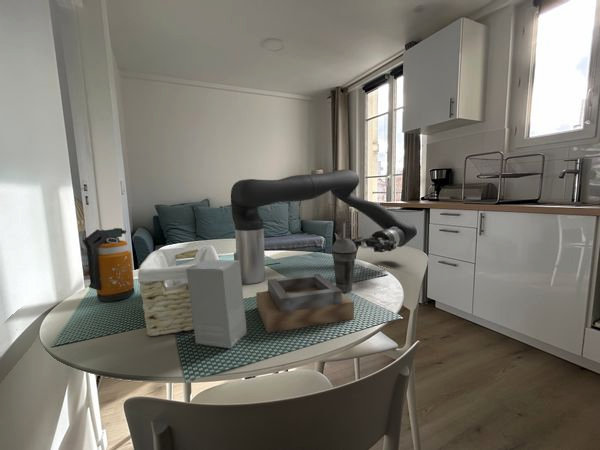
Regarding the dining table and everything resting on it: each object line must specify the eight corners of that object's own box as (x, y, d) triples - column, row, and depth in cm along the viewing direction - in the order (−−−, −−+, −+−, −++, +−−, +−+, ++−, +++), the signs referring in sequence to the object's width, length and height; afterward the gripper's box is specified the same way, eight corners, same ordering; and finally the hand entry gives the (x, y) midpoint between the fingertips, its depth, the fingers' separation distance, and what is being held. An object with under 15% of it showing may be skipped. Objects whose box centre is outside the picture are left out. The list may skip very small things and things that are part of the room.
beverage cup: (355, 285, 88) (355, 221, 86) (357, 294, 81) (358, 223, 78) (331, 285, 89) (331, 221, 86) (331, 293, 81) (331, 224, 79)
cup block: (267, 333, 59) (266, 300, 59) (256, 307, 73) (255, 280, 72) (353, 318, 65) (353, 289, 64) (329, 297, 79) (329, 272, 78)
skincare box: (247, 334, 59) (244, 259, 57) (228, 352, 52) (223, 268, 51) (212, 328, 62) (208, 256, 60) (190, 345, 55) (184, 265, 53)
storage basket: (156, 300, 79) (151, 248, 77) (216, 292, 84) (214, 243, 83) (140, 343, 57) (134, 270, 55) (224, 328, 62) (221, 262, 60)
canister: (141, 294, 84) (135, 226, 82) (102, 308, 74) (94, 232, 72) (122, 290, 88) (115, 225, 86) (82, 303, 78) (74, 230, 76)
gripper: (367, 228, 108) (343, 233, 96) (404, 231, 98) (383, 237, 86) (367, 247, 109) (343, 255, 97) (404, 252, 99) (383, 261, 87)
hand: (362, 247), depth 92 cm, fingers open, 8 cm apart
